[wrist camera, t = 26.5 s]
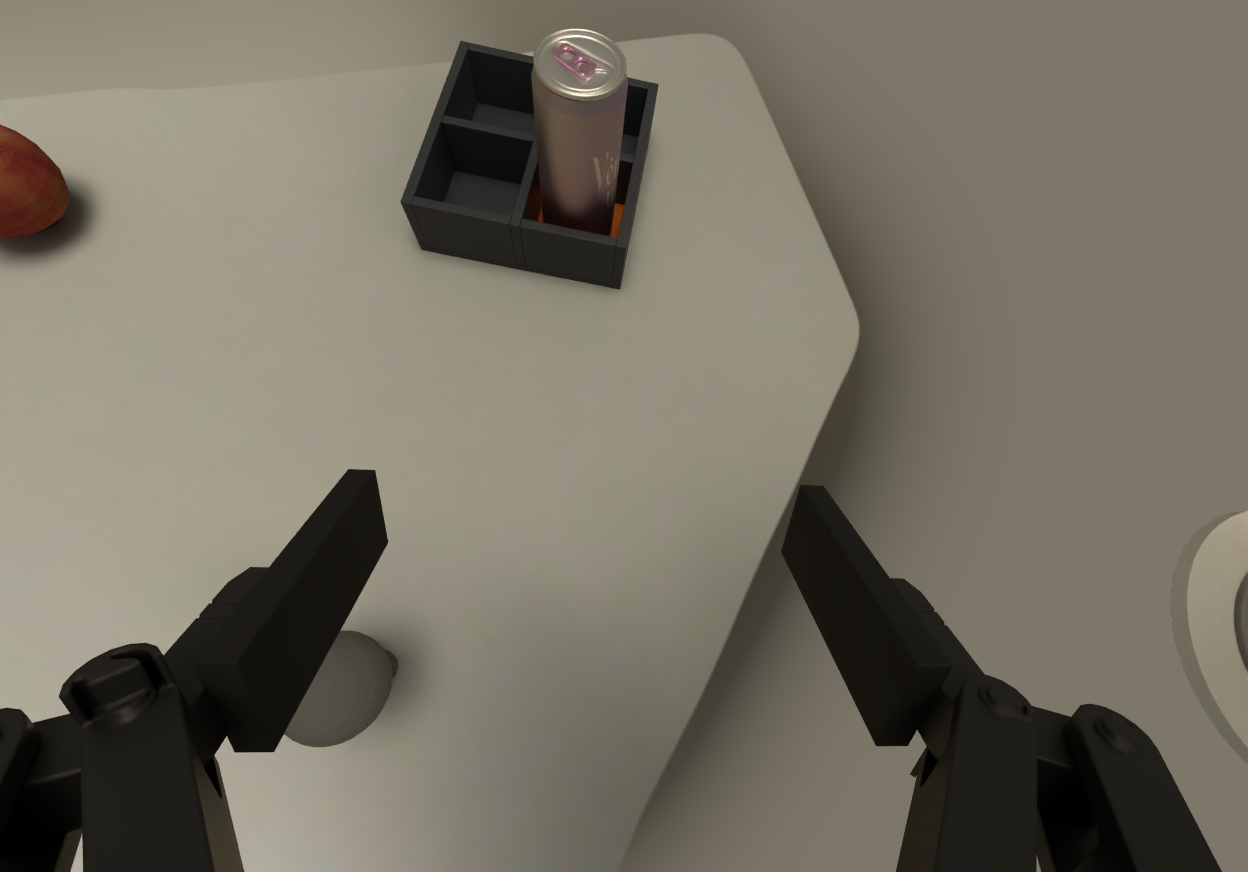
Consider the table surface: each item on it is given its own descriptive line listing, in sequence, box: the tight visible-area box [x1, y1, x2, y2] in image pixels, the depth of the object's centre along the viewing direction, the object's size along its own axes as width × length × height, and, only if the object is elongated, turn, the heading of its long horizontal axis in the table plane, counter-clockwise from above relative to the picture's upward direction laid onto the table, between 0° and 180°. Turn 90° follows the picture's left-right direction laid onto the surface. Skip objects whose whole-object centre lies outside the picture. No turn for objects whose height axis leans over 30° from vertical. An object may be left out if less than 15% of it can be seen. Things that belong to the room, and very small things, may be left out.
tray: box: [401, 41, 658, 289], centre depth 44 cm, size 17×17×6 cm
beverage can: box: [531, 28, 628, 236], centre depth 37 cm, size 6×6×15 cm
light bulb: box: [284, 631, 398, 747], centre depth 29 cm, size 6×6×10 cm
